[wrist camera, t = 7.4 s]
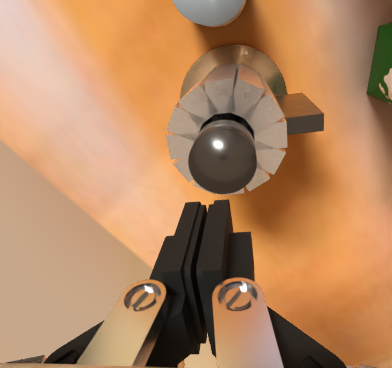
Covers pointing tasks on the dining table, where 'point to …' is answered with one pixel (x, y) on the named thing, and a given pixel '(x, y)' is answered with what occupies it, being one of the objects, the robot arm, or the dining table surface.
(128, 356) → the robot arm
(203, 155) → the plunger
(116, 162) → the dining table surface
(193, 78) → the cafetiere
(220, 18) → the pale blue egg
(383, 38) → the milk carton
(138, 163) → the dining table surface
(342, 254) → the dining table surface
